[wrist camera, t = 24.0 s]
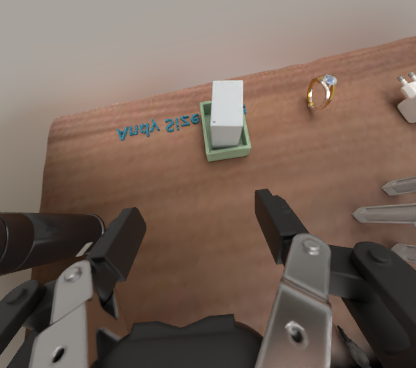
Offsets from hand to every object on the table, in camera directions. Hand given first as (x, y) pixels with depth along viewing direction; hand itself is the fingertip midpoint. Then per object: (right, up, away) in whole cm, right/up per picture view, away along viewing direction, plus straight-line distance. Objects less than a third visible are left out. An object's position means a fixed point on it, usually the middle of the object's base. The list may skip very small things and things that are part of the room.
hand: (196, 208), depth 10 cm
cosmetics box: (+5, +15, +29) cm, 33 cm away
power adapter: (+48, +21, +27) cm, 59 cm away
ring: (+27, +22, +29) cm, 45 cm away
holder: (+5, +15, +29) cm, 33 cm away
